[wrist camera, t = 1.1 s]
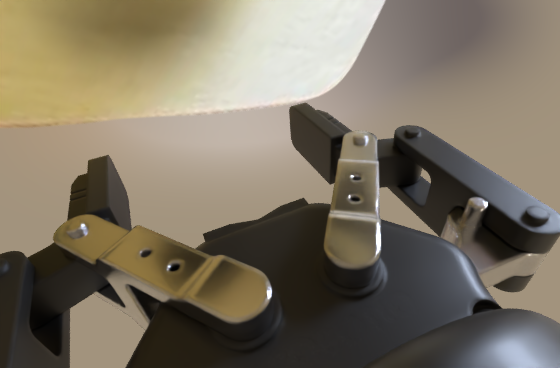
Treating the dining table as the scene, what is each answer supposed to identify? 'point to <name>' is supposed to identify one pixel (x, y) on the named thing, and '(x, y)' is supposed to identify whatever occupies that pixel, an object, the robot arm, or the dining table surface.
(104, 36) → the dining table surface
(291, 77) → the dining table surface
